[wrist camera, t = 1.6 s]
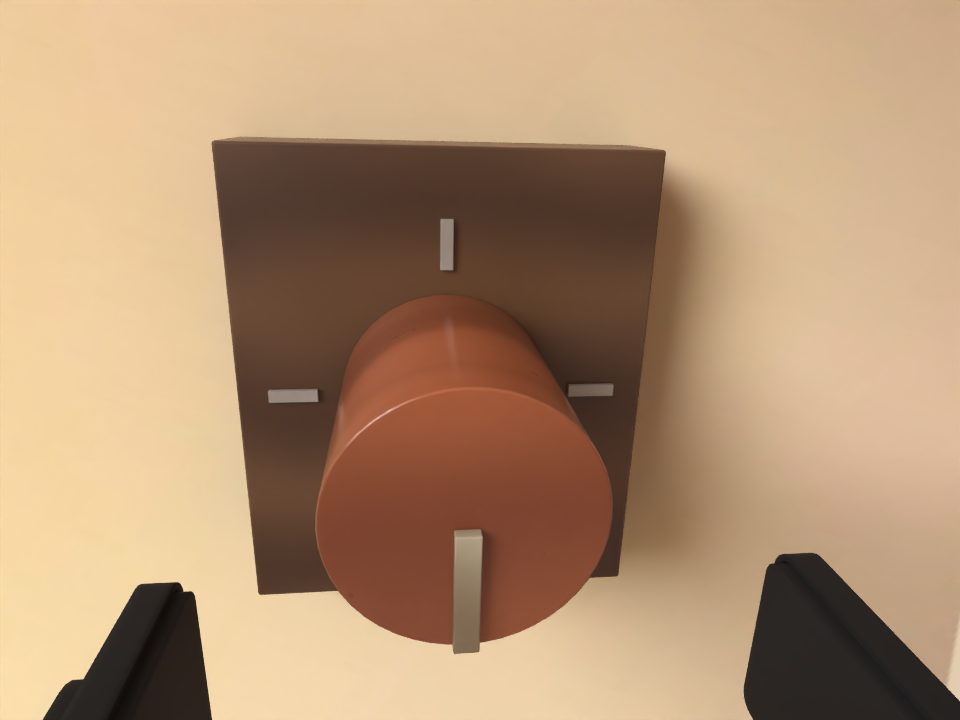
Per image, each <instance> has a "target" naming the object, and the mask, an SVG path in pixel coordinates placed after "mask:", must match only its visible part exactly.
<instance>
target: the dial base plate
mask: <svg viewBox="0 0 960 720" xmlns="http://www.w3.org/2000/svg"><path fill="white" fill-rule="evenodd" d="M212 151H213V161H214V170H215V180H216V190H217V199H218V209H219V218H220V228H221V238H222V247H223V257H224V267H225V276H226V286H227V295H228V305H229V315H230V324H231V334H232V344H233V353H234V363H235V372H236V382H237V392H238V401H239V411H240V421H241V430H242V440H243V449H244V459H245V469H246V478H247V488H248V498H249V507H250V517H251V526H252V536H253V546H254V555H255V565H256V575H257V584H258V593H259V594H260V595H266V594H285V593H305V592H324V591H338V590H337V588H336V587H335V585H334V584H333V582H332V581H331V579H330V577H329V575H328V573H327V571H326V569H325V567H324V565H323V562H322V559H321V556H320V553H319V549H318V545H317V538H316V509H317V503H318V497H319V492H320V487H321V483H322V478H323V473H324V468H325V464H326V459H327V454H328V449H329V445H330V440H331V435H332V431H333V426H334V421H335V416H336V412H337V407H338V402H339V397H340V393H341V388H342V383H343V379H344V374H345V370H346V366H347V363H348V360H349V357H350V355H351V353H352V351H353V349H354V347H355V345H356V344H357V342H358V341H359V339H360V338H361V336H362V335H363V334H364V333H365V332H366V331H367V329H368V328H369V327H370V326H371V325H372V324H373V323H374V322H376V321H377V320H378V319H379V318H380V317H381V316H383V315H384V314H386V313H387V312H389V311H391V310H392V309H394V308H396V307H398V306H400V305H402V304H404V303H406V302H409V301H412V300H415V299H418V298H423V297H428V296H435V295H460V296H465V297H471V298H475V299H478V300H481V301H484V302H487V303H489V304H491V305H493V306H495V307H497V308H499V309H501V310H502V311H504V312H505V313H507V314H508V315H510V316H511V317H512V318H513V319H514V320H516V321H517V322H518V323H519V324H520V325H521V326H522V327H523V329H524V330H525V331H526V332H527V333H528V335H529V336H530V338H531V339H532V341H533V342H534V344H535V346H536V347H537V349H538V351H539V352H540V354H541V356H542V357H543V359H544V361H545V363H546V364H547V366H548V368H549V369H550V371H551V373H552V374H553V376H554V378H555V380H556V381H557V383H558V385H559V386H560V388H561V390H562V391H563V393H564V395H565V397H566V398H567V400H568V402H569V403H570V405H571V407H572V408H573V410H574V412H575V414H576V415H577V417H578V419H579V420H580V422H581V424H582V425H583V427H584V429H585V431H586V432H587V434H588V436H589V437H590V439H591V441H592V442H593V444H594V446H595V448H596V449H597V451H598V453H599V454H600V457H601V459H602V461H603V463H604V466H605V468H606V470H607V474H608V478H609V481H610V485H611V492H612V501H613V507H612V522H611V528H610V533H609V537H608V540H607V544H606V547H605V550H604V552H603V554H602V556H601V558H600V561H599V563H598V565H597V567H596V568H595V570H594V571H593V573H592V574H591V576H590V577H589V578H594V577H613V576H618V572H619V563H620V554H621V546H622V537H623V528H624V519H625V510H626V501H627V492H628V483H629V475H630V466H631V457H632V448H633V439H634V430H635V421H636V412H637V404H638V395H639V386H640V377H641V368H642V359H643V350H644V342H645V333H646V324H647V315H648V306H649V297H650V288H651V279H652V271H653V262H654V253H655V244H656V235H657V226H658V217H659V208H660V200H661V191H662V182H663V173H664V164H665V155H666V152H665V151H664V150H659V149H652V148H644V147H637V146H626V145H581V144H536V143H491V142H446V141H401V140H356V139H310V138H265V137H235V138H228V139H221V140H214V141H212Z"/></svg>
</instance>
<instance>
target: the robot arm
mask: <svg viewBox="0 0 960 720" xmlns="http://www.w3.org/2000/svg"><path fill="white" fill-rule="evenodd" d="M744 698H745V703H746V706H747V709H748V711H749V713H750V715H751V716H752V718H753V720H960V701H959V700H958V699H957V698H956V697H955V696H954V695H953V694H952V693H951V692H950V691H949V690H948V689H947V687H946V686H945V685H944V684H943V683H942V682H941V681H940V680H939V679H938V678H937V677H936V676H935V675H934V674H933V673H932V672H931V671H930V670H929V669H928V668H927V667H926V666H925V665H924V664H923V663H922V662H921V660H920V659H919V658H918V657H917V656H916V655H915V654H914V653H913V652H912V651H911V650H910V649H909V648H908V647H907V646H906V645H905V644H904V643H903V642H902V641H901V640H900V639H899V638H898V637H897V636H896V635H895V633H894V632H893V631H892V630H891V629H890V628H889V627H888V626H887V625H886V624H885V623H884V622H883V621H882V620H881V619H880V618H879V617H878V616H877V615H876V614H875V613H874V612H873V611H872V610H871V609H870V608H869V606H868V605H867V604H866V603H865V602H864V601H863V600H862V599H861V598H860V597H859V596H858V595H857V594H856V593H855V592H854V591H853V590H852V589H851V588H850V587H849V586H848V585H847V584H846V583H845V582H844V581H843V579H842V578H841V577H840V576H839V575H838V574H837V573H836V572H835V571H834V570H833V569H832V568H831V567H830V566H829V565H828V564H827V563H826V562H825V561H824V560H823V559H822V558H821V557H820V556H819V555H817V554H815V553H798V554H782V555H779V556H778V557H777V559H776V561H775V563H774V564H770V565H769V566H768V567H767V570H766V575H765V580H764V585H763V590H762V595H761V601H760V606H759V611H758V616H757V621H756V627H755V632H754V637H753V642H752V647H751V652H750V658H749V663H748V668H747V673H746V678H745V684H744ZM43 720H212V717H211V709H210V702H209V695H208V687H207V680H206V673H205V666H204V658H203V651H202V644H201V637H200V629H199V622H198V615H197V607H196V600H195V595H194V593H193V592H191V591H190V592H183V588H182V586H181V584H180V583H178V582H174V583H152V584H140V585H138V586H137V588H136V589H135V590H134V592H133V594H132V596H131V597H130V599H129V601H128V603H127V604H126V606H125V608H124V610H123V611H122V613H121V615H120V617H119V618H118V620H117V622H116V624H115V625H114V627H113V629H112V631H111V632H110V634H109V636H108V637H107V639H106V641H105V643H104V644H103V646H102V648H101V650H100V651H99V653H98V655H97V657H96V658H95V660H94V662H93V664H92V665H91V667H90V669H89V671H88V672H87V674H86V676H85V678H84V679H83V680H72V681H70V682H69V683H67V684H66V685H65V686H64V687H63V688H62V690H61V691H60V692H59V694H58V695H57V697H56V699H55V700H54V702H53V704H52V705H51V707H50V709H49V710H48V712H47V714H46V715H45V717H44V719H43Z"/></svg>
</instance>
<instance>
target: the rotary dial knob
mask: <svg viewBox="0 0 960 720" xmlns="http://www.w3.org/2000/svg"><path fill="white" fill-rule="evenodd" d="M612 507H613V501H612V492H611V485H610V481H609V478H608V474H607V470H606V468H605V466H604V463H603V461H602V459H601V457H600V454H599V453H598V451H597V449H596V448H595V446H594V444H593V442H592V441H591V439H590V437H589V436H588V434H587V432H586V431H585V429H584V427H583V425H582V424H581V422H580V420H579V419H578V417H577V415H576V414H575V412H574V410H573V408H572V407H571V405H570V403H569V402H568V400H567V398H566V397H565V395H564V393H563V391H562V390H561V388H560V386H559V385H558V383H557V381H556V380H555V378H554V376H553V374H552V373H551V371H550V369H549V368H548V366H547V364H546V363H545V361H544V359H543V357H542V356H541V354H540V352H539V351H538V349H537V347H536V346H535V344H534V342H533V341H532V339H531V338H530V336H529V335H528V333H527V332H526V331H525V330H524V329H523V327H522V326H521V325H520V324H519V323H518V322H517V321H516V320H514V319H513V318H512V317H511V316H510V315H508V314H507V313H505V312H504V311H502V310H501V309H499V308H497V307H495V306H493V305H491V304H489V303H487V302H484V301H481V300H478V299H475V298H471V297H465V296H460V295H435V296H428V297H423V298H418V299H415V300H412V301H409V302H406V303H404V304H402V305H400V306H398V307H396V308H394V309H392V310H391V311H389V312H387V313H386V314H384V315H383V316H381V317H380V318H379V319H378V320H377V321H376V322H374V323H373V324H372V325H371V326H370V327H369V328H368V329H367V331H366V332H365V333H364V334H363V335H362V336H361V338H360V339H359V341H358V342H357V344H356V345H355V347H354V349H353V351H352V353H351V355H350V357H349V360H348V363H347V366H346V370H345V374H344V379H343V383H342V388H341V393H340V397H339V402H338V407H337V412H336V416H335V421H334V426H333V431H332V435H331V440H330V445H329V449H328V454H327V459H326V464H325V468H324V473H323V478H322V483H321V487H320V492H319V497H318V503H317V509H316V538H317V545H318V549H319V553H320V556H321V559H322V562H323V565H324V567H325V569H326V571H327V573H328V575H329V577H330V579H331V581H332V582H333V584H334V585H335V587H336V588H337V590H338V591H339V593H340V594H341V595H342V596H343V597H344V598H345V599H346V600H347V602H348V603H349V604H350V605H351V606H352V607H353V608H355V609H356V610H357V611H358V612H359V613H361V614H362V615H363V616H364V617H366V618H367V619H369V620H370V621H372V622H374V623H375V624H377V625H378V626H380V627H382V628H384V629H387V630H389V631H391V632H393V633H395V634H398V635H401V636H404V637H407V638H410V639H414V640H419V641H423V642H428V643H437V644H452V645H453V653H454V654H458V653H474V652H479V650H480V643H481V642H486V641H491V640H496V639H500V638H503V637H506V636H509V635H512V634H515V633H518V632H520V631H523V630H525V629H527V628H529V627H531V626H534V625H535V624H537V623H539V622H541V621H542V620H544V619H546V618H547V617H549V616H550V615H552V614H553V613H555V612H556V611H557V610H559V609H560V608H561V607H563V606H564V605H565V604H566V603H567V602H568V601H569V600H570V599H571V598H572V597H573V596H575V595H576V594H577V592H578V591H579V590H580V589H581V588H582V586H583V585H584V584H585V583H586V582H587V580H588V579H589V577H590V576H591V574H592V573H593V571H594V570H595V568H596V567H597V565H598V563H599V561H600V558H601V556H602V554H603V552H604V550H605V547H606V544H607V540H608V537H609V533H610V528H611V522H612Z"/></svg>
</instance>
